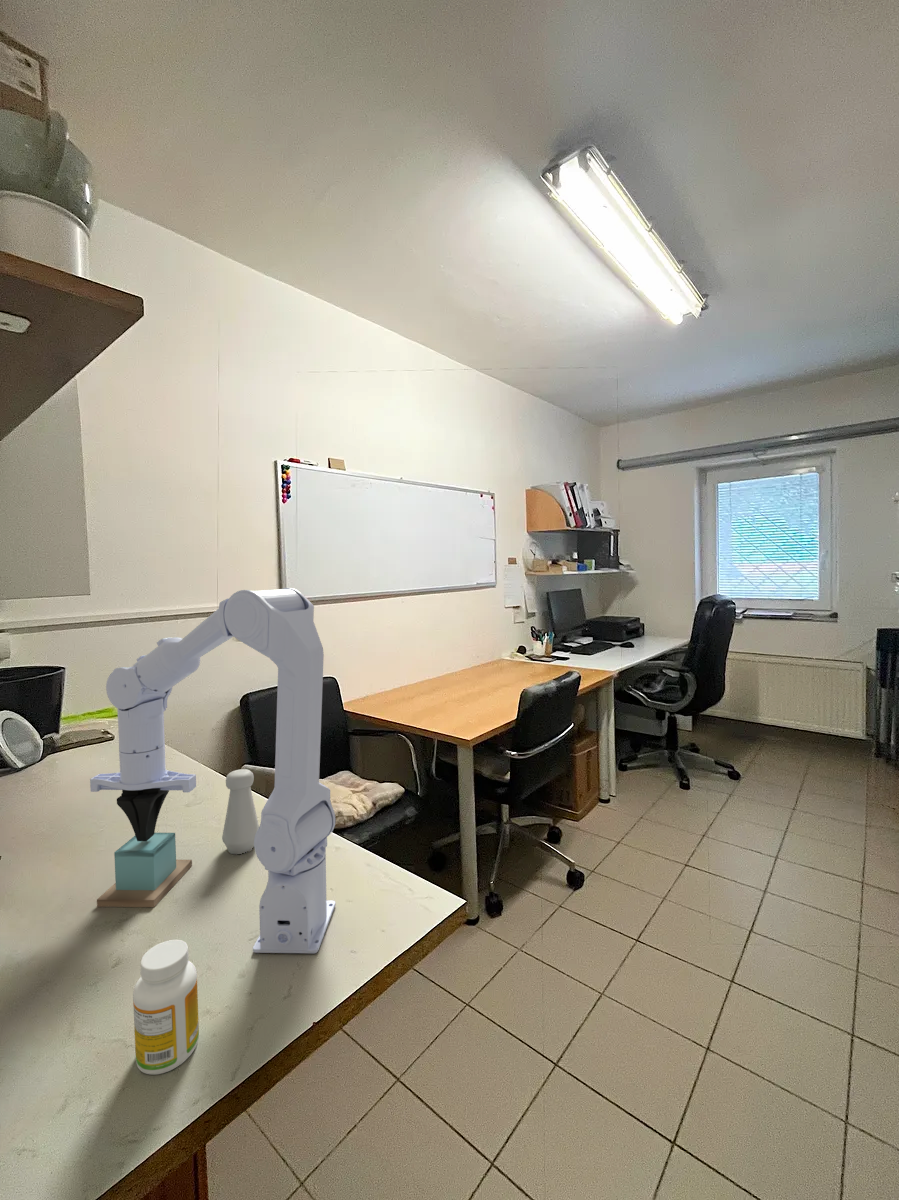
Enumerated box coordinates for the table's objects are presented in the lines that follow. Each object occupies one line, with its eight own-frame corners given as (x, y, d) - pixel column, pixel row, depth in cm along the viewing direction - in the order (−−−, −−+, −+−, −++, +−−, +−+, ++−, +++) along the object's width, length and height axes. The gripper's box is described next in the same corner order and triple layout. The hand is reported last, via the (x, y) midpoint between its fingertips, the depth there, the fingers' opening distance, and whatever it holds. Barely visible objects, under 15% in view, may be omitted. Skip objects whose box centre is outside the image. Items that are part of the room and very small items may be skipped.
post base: (154, 907, 71) (152, 868, 71) (97, 906, 71) (95, 867, 71) (191, 865, 81) (190, 831, 81) (141, 865, 81) (140, 831, 81)
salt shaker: (246, 859, 83) (244, 780, 82) (214, 855, 84) (212, 777, 83) (266, 841, 89) (264, 766, 88) (236, 837, 90) (234, 764, 89)
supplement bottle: (182, 1016, 54) (179, 926, 53) (209, 1044, 51) (206, 949, 50) (125, 1055, 49) (121, 958, 49) (151, 1089, 46) (147, 984, 46)
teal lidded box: (154, 890, 73) (153, 852, 73) (115, 889, 73) (114, 852, 73) (176, 867, 79) (175, 832, 79) (140, 867, 79) (138, 832, 79)
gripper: (205, 738, 79) (207, 824, 80) (111, 737, 79) (115, 824, 80) (180, 754, 72) (183, 849, 73) (77, 754, 72) (81, 848, 73)
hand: (145, 837), depth 76 cm, fingers closed
